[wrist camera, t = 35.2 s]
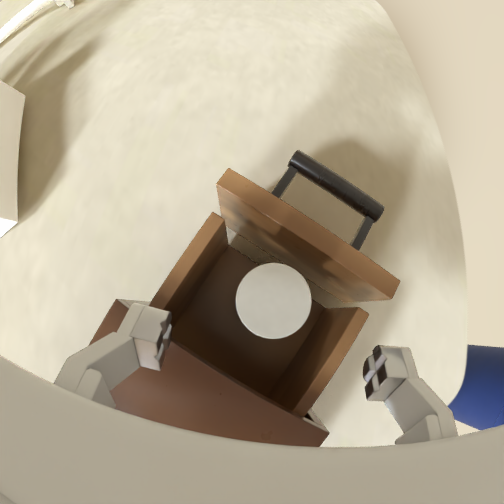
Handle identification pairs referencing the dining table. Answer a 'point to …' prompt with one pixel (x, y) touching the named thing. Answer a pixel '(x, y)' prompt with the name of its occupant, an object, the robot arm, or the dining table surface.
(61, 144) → the dining table surface
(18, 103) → the white cradle stand
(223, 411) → the cabinet
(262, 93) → the dining table surface
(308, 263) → the drawer
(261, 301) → the tube
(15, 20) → the white block on rod
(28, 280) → the dining table surface
